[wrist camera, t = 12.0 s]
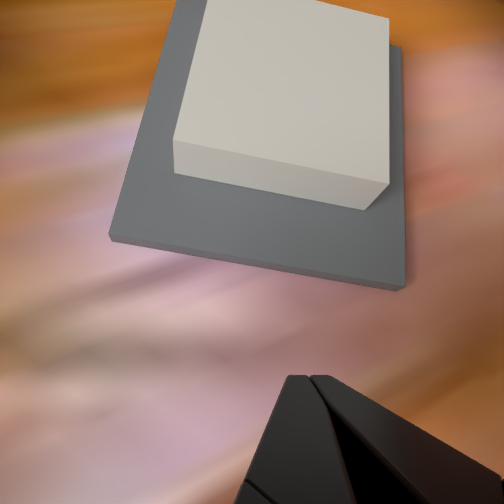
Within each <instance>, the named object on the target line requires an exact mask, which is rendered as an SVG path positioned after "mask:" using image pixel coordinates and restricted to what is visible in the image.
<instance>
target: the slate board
mask: <svg viewBox="0 0 504 504" xmlns="http://www.w3.org/2000/svg"><path fill="white" fill-rule="evenodd" d="M206 5H207V0H177V1H176V5H175V8H174V12H173V15H172V18H171V22H170V25H169V29H168V32H167V35H166V39H165V42H164V46H163V49H162V52H161V56H160V59H159V63H158V66H157V70H156V73H155V76H154V80H153V83H152V87H151V90H150V93H149V97H148V100H147V104H146V107H145V110H144V114H143V117H142V121H141V124H140V128H139V131H138V134H137V138H136V141H135V145H134V148H133V151H132V155H131V158H130V162H129V165H128V168H127V172H126V175H125V179H124V182H123V186H122V189H121V192H120V196H119V199H118V203H117V206H116V209H115V213H114V216H113V220H112V223H111V226H110V230H109V233H108V234H109V236H110V238H111V240H112V241H114V242H120V243H125V244H131V245H137V246H142V247H148V248H154V249H159V250H165V251H171V252H176V253H182V254H188V255H193V256H199V257H205V258H210V259H216V260H222V261H227V262H233V263H239V264H244V265H250V266H256V267H261V268H267V269H273V270H278V271H284V272H290V273H295V274H301V275H307V276H312V277H318V278H324V279H329V280H335V281H341V282H346V283H352V284H358V285H363V286H369V287H375V288H380V289H386V290H392V291H399V290H400V289H402V288H404V287H406V267H405V214H404V161H403V108H402V54H401V47H397V46H393V45H389V185H388V186H387V187H386V188H385V189H384V190H383V191H382V192H381V193H380V194H379V196H378V197H377V198H376V199H375V200H374V201H373V202H372V203H371V204H370V205H369V206H368V207H367V208H366V209H365V210H359V209H354V208H349V207H344V206H339V205H334V204H329V203H324V202H319V201H314V200H309V199H303V198H298V197H293V196H288V195H283V194H278V193H273V192H268V191H263V190H258V189H253V188H247V187H242V186H237V185H232V184H227V183H222V182H217V181H212V180H207V179H202V178H197V177H192V176H186V175H181V174H176V173H174V155H173V136H174V132H175V128H176V124H177V120H178V116H179V112H180V108H181V104H182V100H183V96H184V92H185V88H186V84H187V80H188V76H189V72H190V68H191V64H192V60H193V56H194V52H195V48H196V45H197V41H198V37H199V33H200V29H201V25H202V21H203V17H204V13H205V9H206Z"/></svg>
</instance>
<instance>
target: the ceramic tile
mask: <svg viewBox="0 0 504 504" xmlns="http://www.w3.org/2000/svg"><path fill="white" fill-rule="evenodd" d="M173 155H174V173H176V174H181V175H186V176H192V177H197V178H202V179H207V180H212V181H217V182H222V183H227V184H232V185H237V186H242V187H247V188H253V189H258V190H263V191H268V192H273V193H278V194H283V195H288V196H293V197H298V198H303V199H309V200H314V201H319V202H324V203H329V204H334V205H339V206H344V207H349V208H354V209H359V210H365V209H366V208H367V207H368V206H369V205H370V204H371V203H372V202H373V201H374V200H375V199H376V198H377V197H378V196H379V194H380V193H381V192H382V191H383V190H384V189H385V188H386V187H387V186H388V185H389V19H388V18H384V17H380V16H376V15H372V14H368V13H364V12H360V11H356V10H352V9H348V8H344V7H340V6H336V5H332V4H328V3H324V2H320V1H316V0H208V1H207V5H206V9H205V13H204V17H203V21H202V25H201V29H200V33H199V37H198V41H197V45H196V48H195V52H194V56H193V60H192V64H191V68H190V72H189V76H188V80H187V84H186V88H185V92H184V96H183V100H182V104H181V108H180V112H179V116H178V120H177V124H176V128H175V132H174V136H173Z"/></svg>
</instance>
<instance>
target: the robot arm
mask: <svg viewBox="0 0 504 504" xmlns="http://www.w3.org/2000/svg"><path fill="white" fill-rule="evenodd" d="M233 504H504V479H503V480H502V478H501V476H500V475H499V474H497V473H495V472H494V471H492V470H490V469H489V468H487V467H485V466H483V465H482V464H480V463H478V462H477V461H475V460H473V459H471V458H470V457H468V456H466V455H465V454H463V453H461V452H460V451H458V450H456V449H454V448H453V447H451V446H449V445H448V444H446V443H444V442H443V441H441V440H439V439H437V438H436V437H434V436H432V435H431V434H429V433H427V432H425V431H424V430H422V429H420V428H419V427H417V426H415V425H414V424H412V423H410V422H408V421H407V420H405V419H403V418H402V417H400V416H398V415H397V414H395V413H393V412H391V411H390V410H388V409H386V408H385V407H383V406H381V405H379V404H378V403H376V402H374V401H373V400H371V399H369V398H368V397H366V396H364V395H362V394H361V393H359V392H357V391H356V390H354V389H352V388H351V387H349V386H347V385H345V384H344V383H342V382H340V381H339V380H337V379H335V378H333V377H332V376H329V375H311V376H310V377H308V376H307V375H288V376H287V378H286V380H285V382H284V385H283V387H282V389H281V392H280V394H279V397H278V399H277V401H276V404H275V406H274V409H273V411H272V413H271V416H270V418H269V421H268V423H267V425H266V428H265V430H264V433H263V435H262V437H261V440H260V442H259V445H258V447H257V449H256V452H255V454H254V457H253V459H252V461H251V464H250V466H249V469H248V471H247V473H246V476H245V478H244V481H243V483H242V484H241V486H240V489H239V491H238V493H237V496H236V498H235V500H234V503H233Z"/></svg>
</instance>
